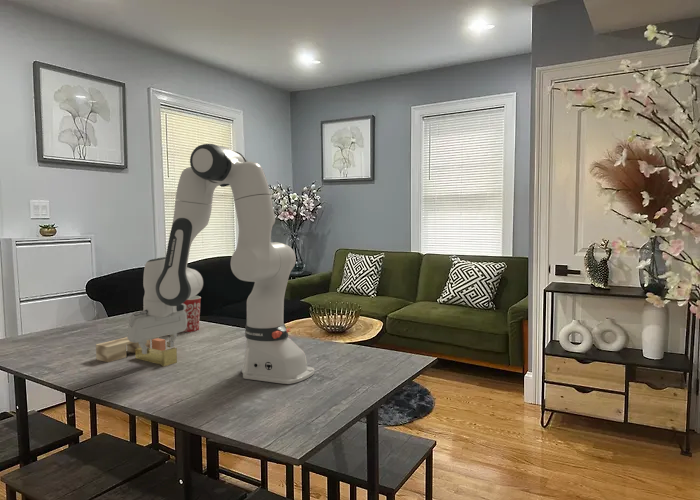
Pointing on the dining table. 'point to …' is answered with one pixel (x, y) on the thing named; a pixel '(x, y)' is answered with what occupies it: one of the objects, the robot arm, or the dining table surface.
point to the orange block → (158, 344)
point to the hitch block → (116, 349)
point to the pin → (158, 356)
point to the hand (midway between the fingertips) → (158, 350)
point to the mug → (192, 313)
